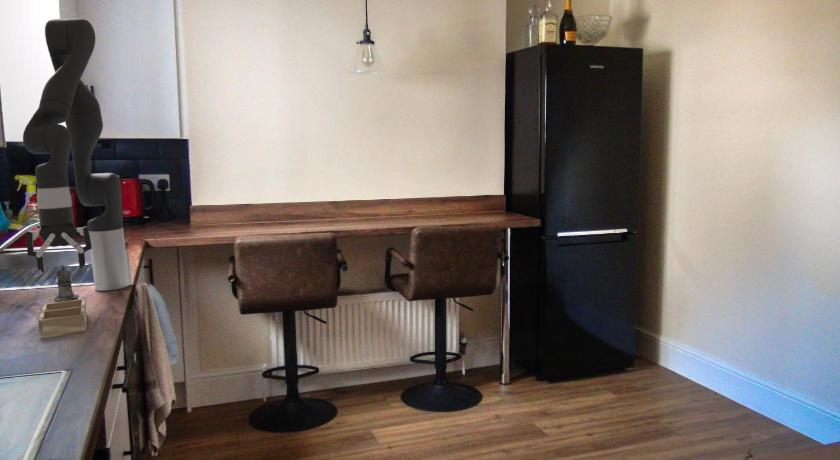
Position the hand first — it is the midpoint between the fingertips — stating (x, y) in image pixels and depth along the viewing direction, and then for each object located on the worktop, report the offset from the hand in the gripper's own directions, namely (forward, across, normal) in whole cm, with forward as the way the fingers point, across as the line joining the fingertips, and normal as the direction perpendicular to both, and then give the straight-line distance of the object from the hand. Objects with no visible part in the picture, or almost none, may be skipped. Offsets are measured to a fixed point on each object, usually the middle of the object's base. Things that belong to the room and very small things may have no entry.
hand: (62, 269), depth 172 cm
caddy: (+11, 0, -14) cm, 18 cm away
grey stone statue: (+11, 0, 0) cm, 11 cm away
